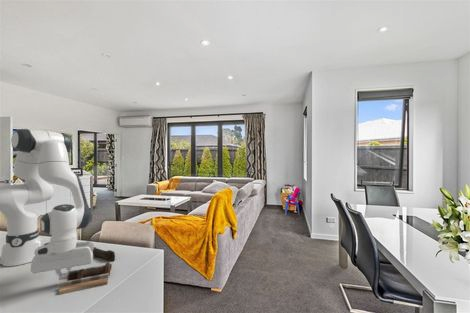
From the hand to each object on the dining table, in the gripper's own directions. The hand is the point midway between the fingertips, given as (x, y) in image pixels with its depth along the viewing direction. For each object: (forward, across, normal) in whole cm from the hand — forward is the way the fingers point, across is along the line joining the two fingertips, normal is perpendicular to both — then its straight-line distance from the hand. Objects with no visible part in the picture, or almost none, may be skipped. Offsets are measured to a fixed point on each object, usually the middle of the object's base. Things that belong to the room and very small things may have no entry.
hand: (63, 278), depth 89 cm
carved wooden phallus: (+3, -11, -21) cm, 24 cm away
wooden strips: (+2, -9, 0) cm, 9 cm away
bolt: (+2, -9, 0) cm, 9 cm away
